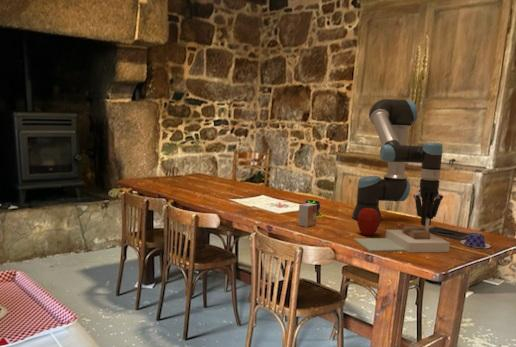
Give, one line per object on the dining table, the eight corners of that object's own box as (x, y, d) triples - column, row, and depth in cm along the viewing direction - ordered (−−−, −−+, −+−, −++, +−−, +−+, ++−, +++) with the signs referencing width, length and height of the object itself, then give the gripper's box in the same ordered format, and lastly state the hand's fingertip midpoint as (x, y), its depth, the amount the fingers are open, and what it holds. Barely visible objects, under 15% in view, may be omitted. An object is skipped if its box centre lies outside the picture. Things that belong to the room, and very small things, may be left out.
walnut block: (402, 232, 177) (402, 226, 177) (416, 232, 178) (417, 226, 178) (414, 239, 167) (415, 232, 167) (429, 239, 168) (430, 232, 168)
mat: (353, 239, 177) (354, 238, 177) (387, 239, 180) (387, 238, 180) (369, 251, 161) (369, 250, 161) (406, 251, 164) (406, 249, 164)
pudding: (479, 251, 169) (480, 239, 168) (453, 243, 179) (455, 231, 179) (496, 248, 174) (498, 236, 174) (471, 240, 185) (472, 229, 184)
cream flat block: (385, 238, 182) (386, 229, 181) (421, 237, 185) (422, 229, 184) (408, 252, 162) (409, 243, 162) (448, 251, 165) (449, 242, 164)
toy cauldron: (294, 212, 228) (295, 193, 227) (318, 211, 233) (319, 192, 232) (305, 218, 214) (306, 198, 213) (330, 217, 219) (331, 197, 218)
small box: (307, 227, 195) (308, 206, 194) (297, 225, 199) (298, 204, 198) (316, 224, 201) (317, 204, 200) (307, 222, 205) (308, 202, 204)
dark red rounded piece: (375, 239, 180) (378, 208, 178) (353, 235, 184) (355, 205, 183) (380, 234, 189) (383, 205, 187) (359, 230, 193) (361, 202, 192)
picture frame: (423, 233, 195) (462, 242, 182) (423, 229, 195) (462, 238, 182) (434, 229, 204) (472, 237, 191) (434, 225, 204) (472, 233, 191)
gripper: (420, 180, 165) (415, 235, 168) (449, 180, 168) (443, 235, 171) (411, 177, 173) (406, 230, 176) (438, 177, 175) (433, 230, 178)
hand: (424, 232), depth 173 cm, fingers closed
